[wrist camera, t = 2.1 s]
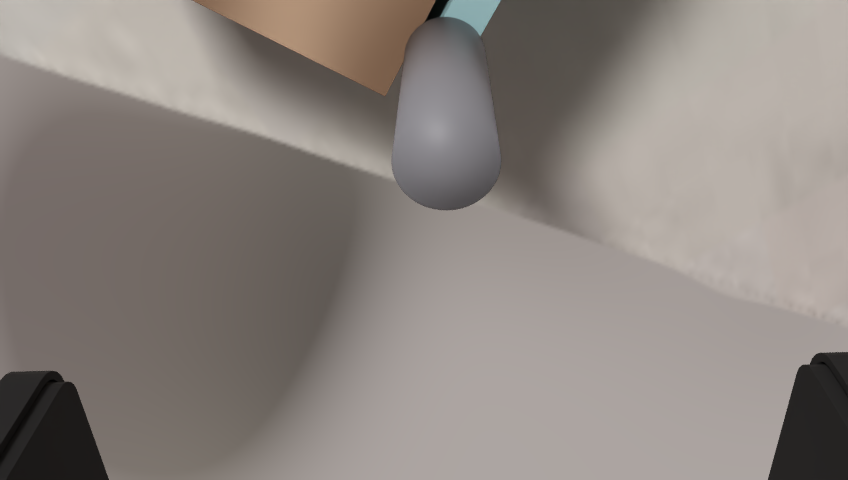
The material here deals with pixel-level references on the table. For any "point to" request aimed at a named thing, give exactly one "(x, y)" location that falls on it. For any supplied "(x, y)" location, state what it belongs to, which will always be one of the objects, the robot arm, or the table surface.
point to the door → (447, 109)
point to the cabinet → (336, 32)
